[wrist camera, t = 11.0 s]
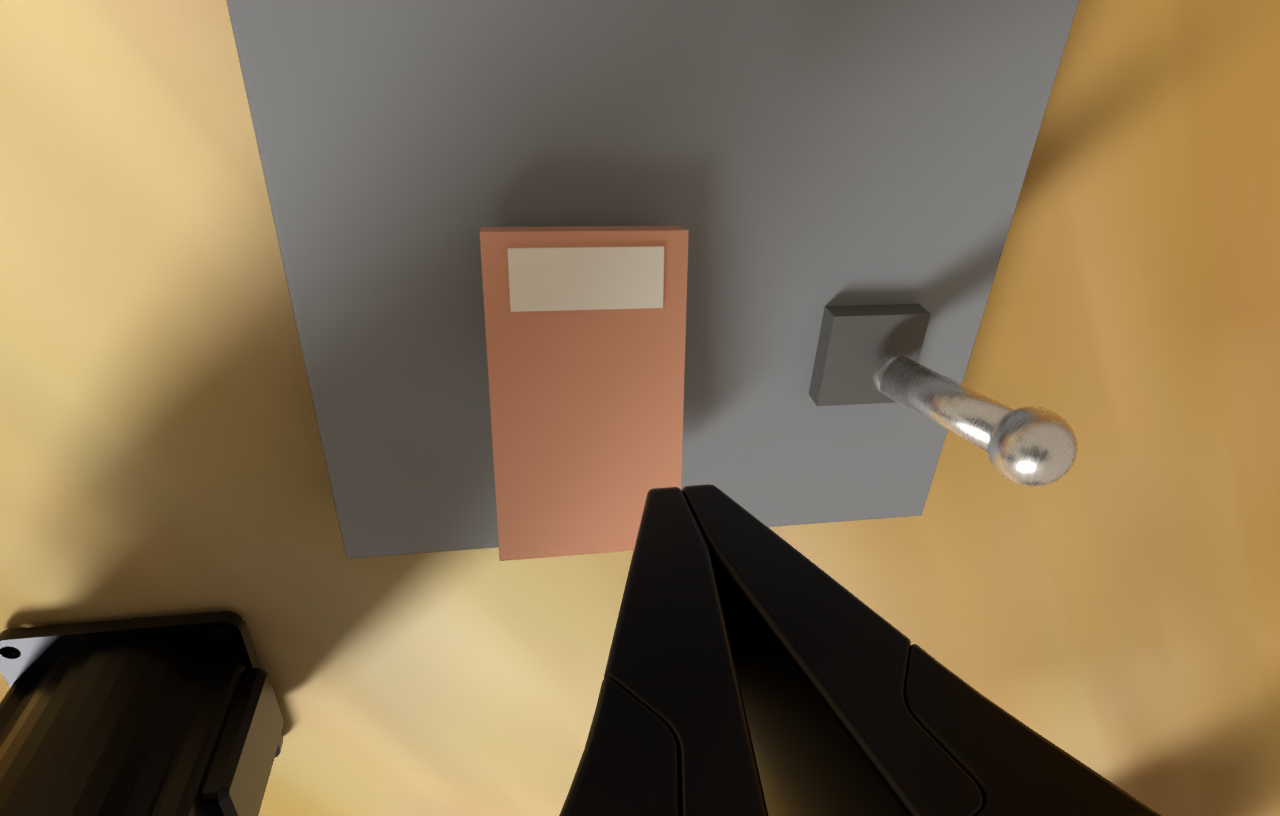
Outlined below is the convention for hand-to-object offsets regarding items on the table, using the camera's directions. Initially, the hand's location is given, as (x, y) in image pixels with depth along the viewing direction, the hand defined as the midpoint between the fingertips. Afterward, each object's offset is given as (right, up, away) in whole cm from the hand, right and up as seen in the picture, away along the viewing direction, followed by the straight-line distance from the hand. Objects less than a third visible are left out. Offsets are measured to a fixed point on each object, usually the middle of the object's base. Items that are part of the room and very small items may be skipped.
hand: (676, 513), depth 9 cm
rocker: (-2, +2, +6) cm, 7 cm away
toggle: (+5, +2, +8) cm, 10 cm away
